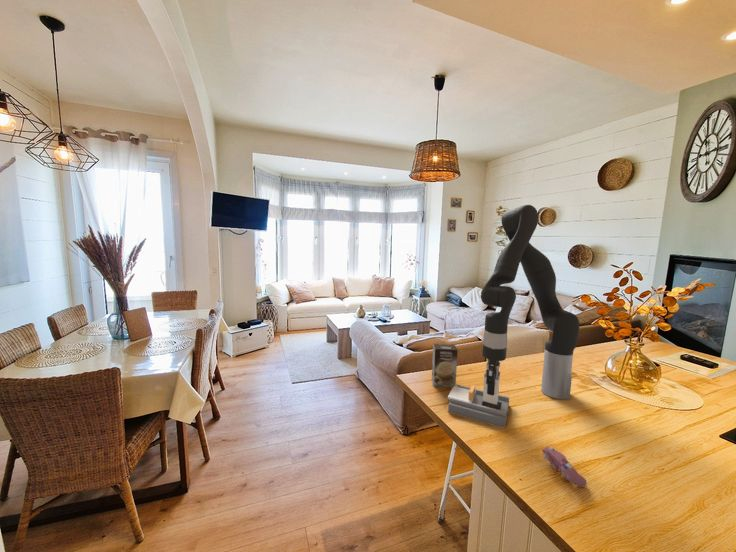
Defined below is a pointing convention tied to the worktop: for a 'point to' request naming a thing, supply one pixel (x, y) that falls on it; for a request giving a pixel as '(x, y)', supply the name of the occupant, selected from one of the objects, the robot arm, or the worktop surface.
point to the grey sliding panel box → (481, 408)
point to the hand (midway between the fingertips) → (491, 391)
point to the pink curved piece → (563, 466)
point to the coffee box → (444, 365)
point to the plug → (494, 398)
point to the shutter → (463, 393)
